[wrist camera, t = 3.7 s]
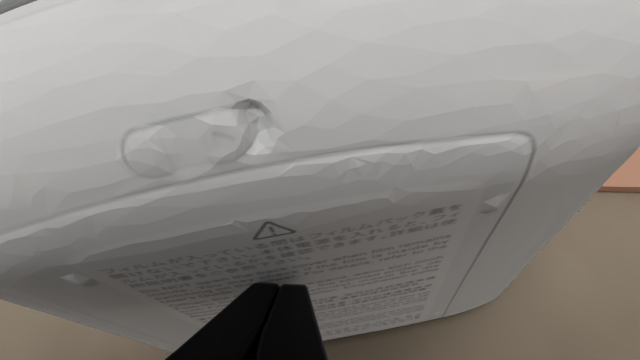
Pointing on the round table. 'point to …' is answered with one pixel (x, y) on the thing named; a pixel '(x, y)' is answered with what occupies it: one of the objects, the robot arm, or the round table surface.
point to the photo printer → (299, 152)
